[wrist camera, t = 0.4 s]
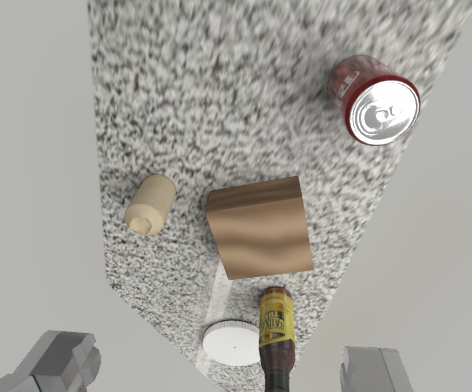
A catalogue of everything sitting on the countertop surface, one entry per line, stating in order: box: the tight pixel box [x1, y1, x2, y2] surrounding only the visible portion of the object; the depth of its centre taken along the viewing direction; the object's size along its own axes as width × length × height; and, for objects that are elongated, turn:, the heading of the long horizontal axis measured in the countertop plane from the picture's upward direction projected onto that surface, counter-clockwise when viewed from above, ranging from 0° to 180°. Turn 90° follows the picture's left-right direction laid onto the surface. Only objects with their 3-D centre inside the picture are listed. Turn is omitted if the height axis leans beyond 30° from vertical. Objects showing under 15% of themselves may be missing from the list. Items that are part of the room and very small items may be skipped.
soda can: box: [327, 55, 420, 146], centre depth 38 cm, size 7×7×12 cm
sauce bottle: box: [258, 287, 295, 392], centre depth 57 cm, size 6×6×20 cm
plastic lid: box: [203, 321, 260, 366], centre depth 73 cm, size 14×14×2 cm
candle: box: [124, 174, 176, 236], centre depth 49 cm, size 6×6×10 cm
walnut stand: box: [205, 176, 314, 280], centre depth 53 cm, size 14×14×6 cm
